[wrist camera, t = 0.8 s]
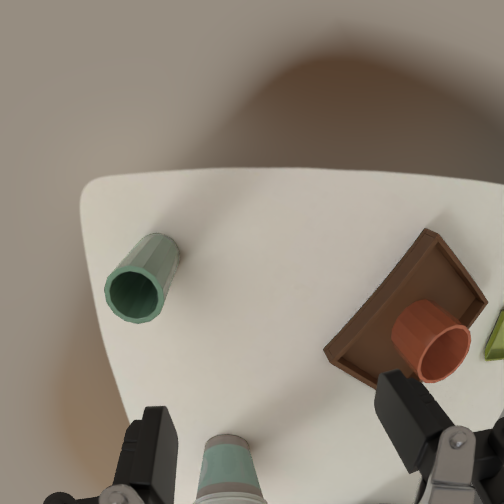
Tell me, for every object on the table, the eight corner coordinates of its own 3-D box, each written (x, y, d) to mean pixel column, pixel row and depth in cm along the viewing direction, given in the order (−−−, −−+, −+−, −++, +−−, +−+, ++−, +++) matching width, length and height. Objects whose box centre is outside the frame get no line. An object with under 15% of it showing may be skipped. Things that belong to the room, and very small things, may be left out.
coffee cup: (193, 426, 36) (189, 504, 24) (261, 427, 36) (273, 504, 25) (196, 463, 38) (195, 531, 27) (255, 463, 39) (265, 531, 27)
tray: (424, 227, 31) (438, 233, 28) (476, 294, 34) (488, 302, 32) (322, 349, 34) (329, 362, 31) (392, 392, 37) (400, 403, 35)
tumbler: (419, 286, 33) (454, 313, 26) (446, 315, 34) (479, 342, 28) (378, 334, 34) (406, 369, 27) (409, 358, 36) (436, 390, 29)
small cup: (150, 223, 28) (122, 253, 19) (188, 251, 29) (176, 291, 20) (127, 259, 29) (94, 299, 20) (164, 285, 30) (144, 334, 21)
